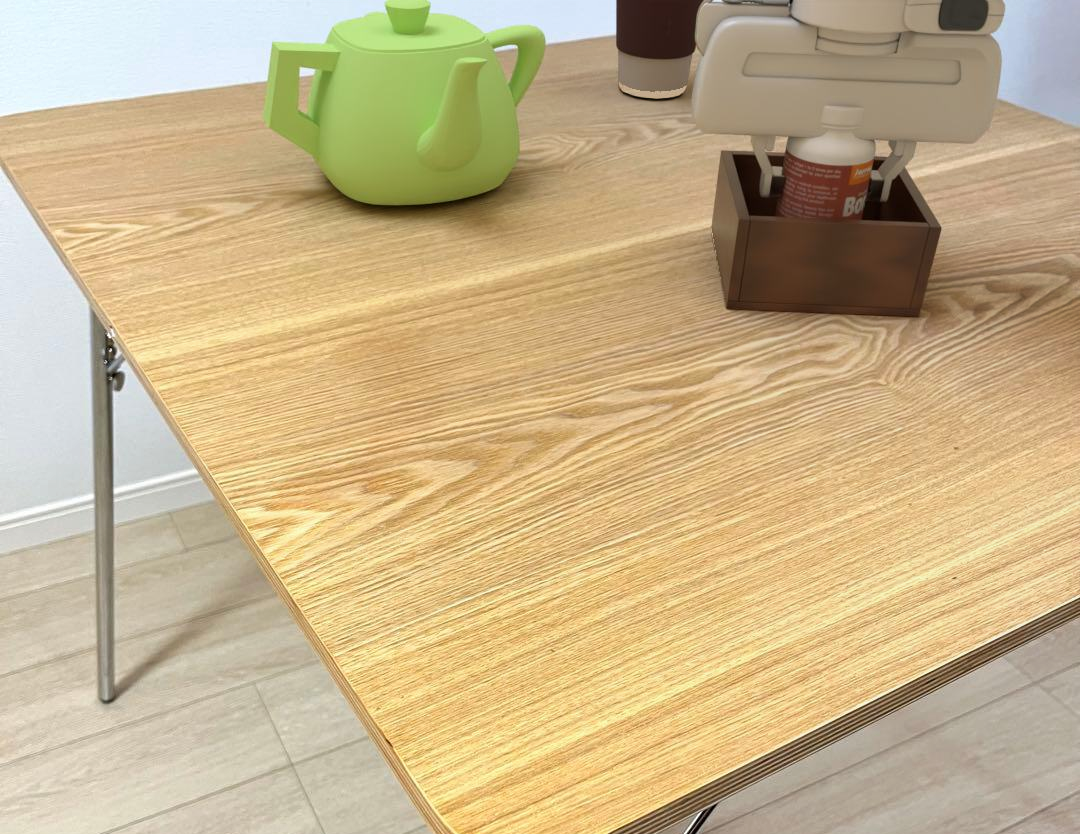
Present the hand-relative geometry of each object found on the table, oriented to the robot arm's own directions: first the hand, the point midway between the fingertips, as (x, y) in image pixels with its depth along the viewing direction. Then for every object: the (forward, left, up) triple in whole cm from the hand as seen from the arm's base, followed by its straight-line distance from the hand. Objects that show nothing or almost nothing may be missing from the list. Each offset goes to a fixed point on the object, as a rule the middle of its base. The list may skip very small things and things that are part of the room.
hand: (822, 197), depth 82 cm
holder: (0, 0, -6) cm, 6 cm away
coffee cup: (+10, -44, -6) cm, 46 cm away
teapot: (+31, -14, -6) cm, 35 cm away
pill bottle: (0, 0, -4) cm, 4 cm away
